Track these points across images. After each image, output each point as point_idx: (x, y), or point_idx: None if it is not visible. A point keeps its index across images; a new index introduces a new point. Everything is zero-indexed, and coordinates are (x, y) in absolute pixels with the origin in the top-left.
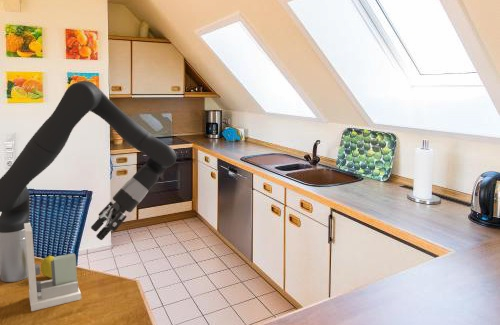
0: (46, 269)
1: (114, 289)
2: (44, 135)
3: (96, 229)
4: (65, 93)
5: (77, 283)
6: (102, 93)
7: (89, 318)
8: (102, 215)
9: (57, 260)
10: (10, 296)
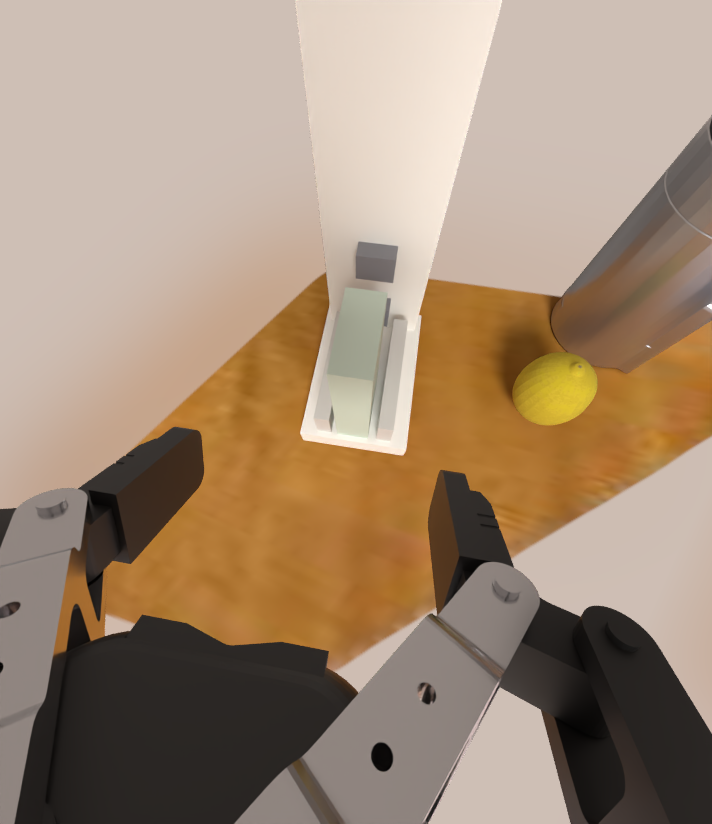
0: (523, 370)
1: (291, 564)
2: None
3: (430, 523)
4: None
5: (314, 417)
6: None
7: (175, 421)
8: (433, 617)
9: (342, 302)
10: (456, 294)
